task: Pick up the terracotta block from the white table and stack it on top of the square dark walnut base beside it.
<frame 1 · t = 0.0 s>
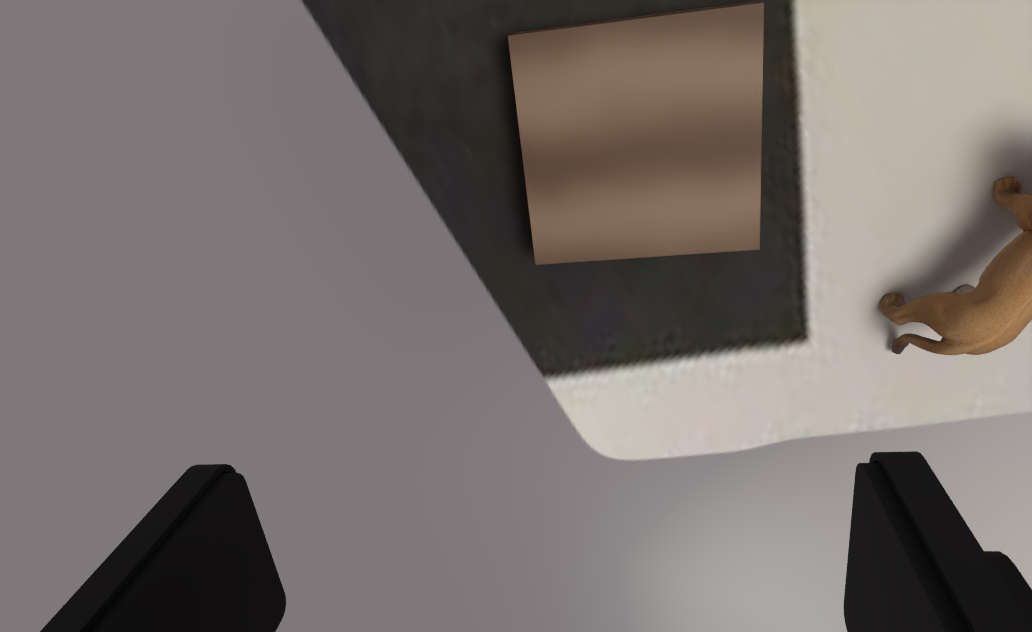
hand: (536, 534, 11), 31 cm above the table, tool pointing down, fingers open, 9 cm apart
walnut base: (637, 135, 38), on the table
lion figurine: (977, 231, 38), on the table
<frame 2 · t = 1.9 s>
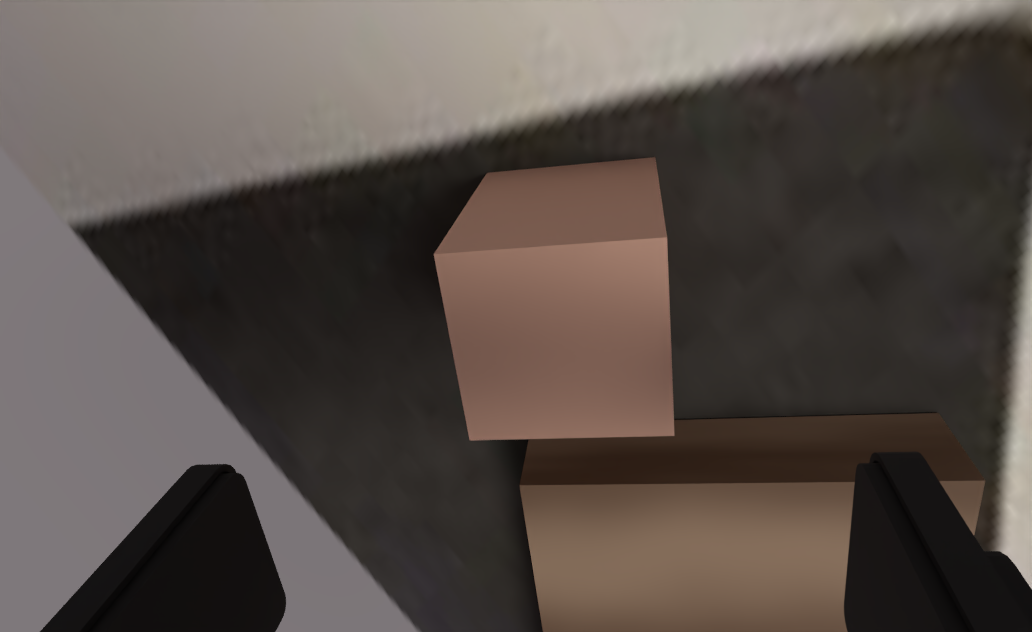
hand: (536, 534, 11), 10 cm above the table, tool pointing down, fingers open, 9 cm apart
terracotta block: (577, 243, 20), on the table
walnut base: (724, 563, 24), on the table
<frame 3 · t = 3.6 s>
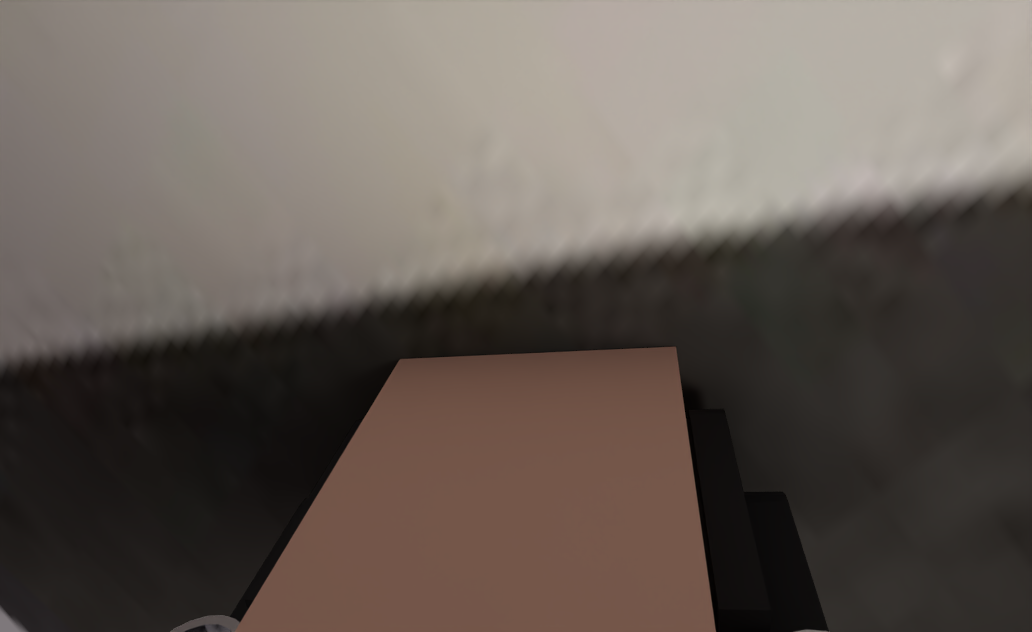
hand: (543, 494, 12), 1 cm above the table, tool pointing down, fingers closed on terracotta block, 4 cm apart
terracotta block: (547, 467, 12), on the table, touching gripper
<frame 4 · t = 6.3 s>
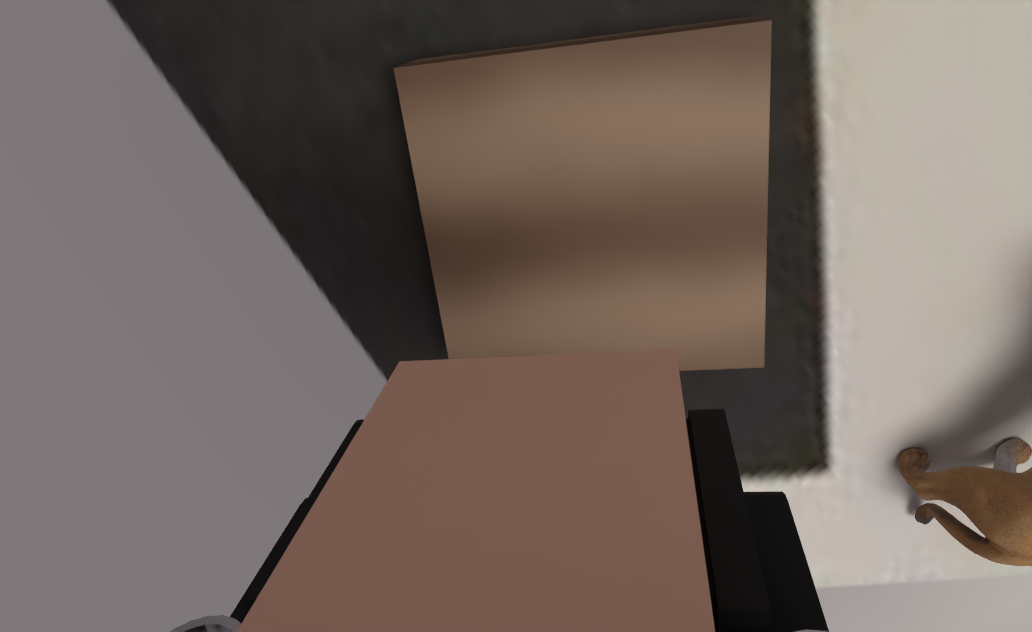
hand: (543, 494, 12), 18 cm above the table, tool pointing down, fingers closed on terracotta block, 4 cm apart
terracotta block: (547, 469, 12), point 17 cm above the table, touching gripper
walnut base: (592, 202, 27), on the table
lion figurine: (1027, 371, 28), on the table
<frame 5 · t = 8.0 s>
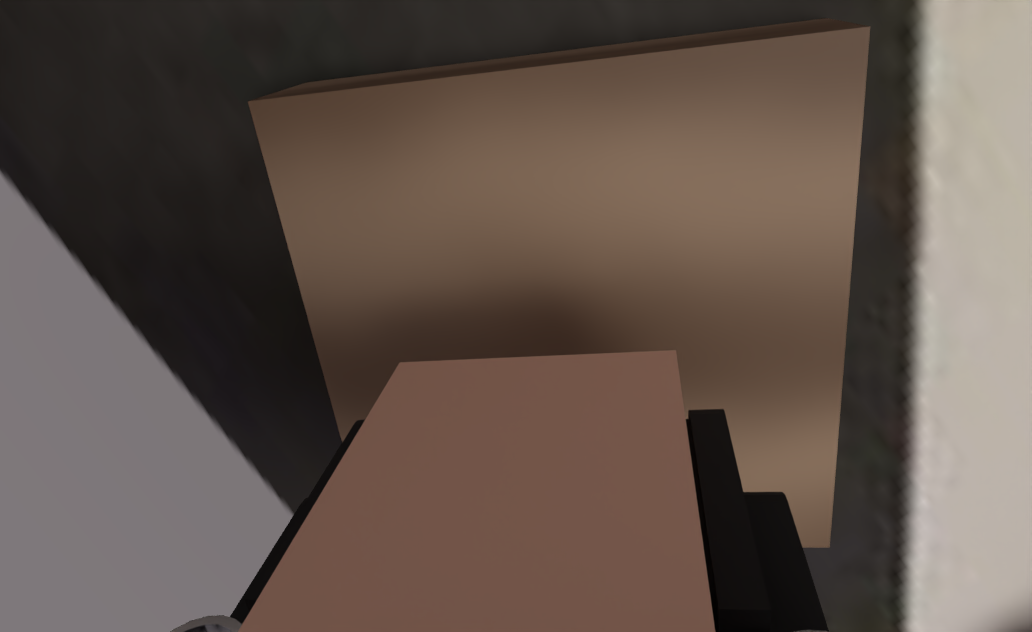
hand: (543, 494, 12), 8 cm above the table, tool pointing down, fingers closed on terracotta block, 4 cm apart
terracotta block: (547, 470, 12), point 7 cm above the table, touching gripper
walnut base: (573, 291, 19), on the table
when the fingers open (5 cm above the table, at t = 9.4 s): terracotta block drops 1 cm, resting on walnut base.
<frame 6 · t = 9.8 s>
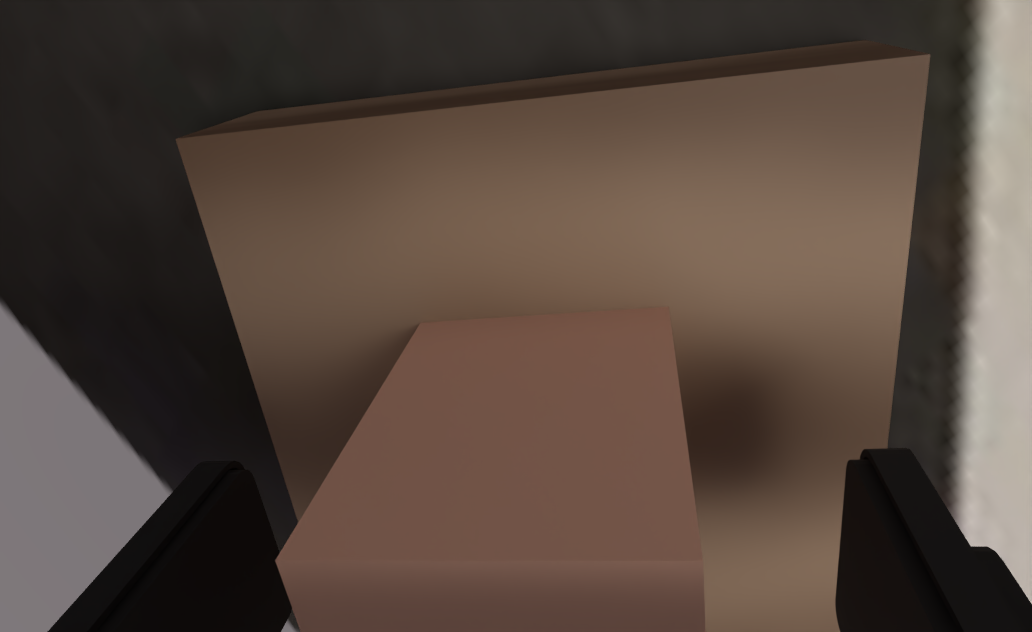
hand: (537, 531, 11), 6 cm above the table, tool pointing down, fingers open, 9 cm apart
terracotta block: (554, 420, 13), point 3 cm above the table, touching walnut base
walnut base: (566, 349, 16), on the table
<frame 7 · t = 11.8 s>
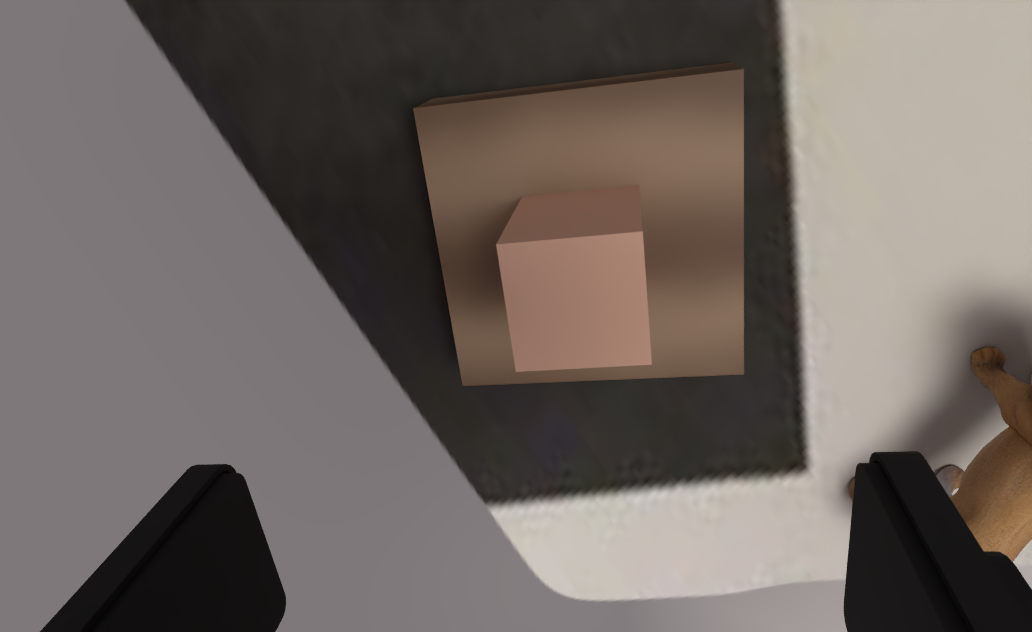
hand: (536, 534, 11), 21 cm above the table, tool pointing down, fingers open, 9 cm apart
terracotta block: (585, 246, 28), point 3 cm above the table, touching walnut base
walnut base: (589, 225, 30), on the table
lion figurine: (957, 405, 32), on the table
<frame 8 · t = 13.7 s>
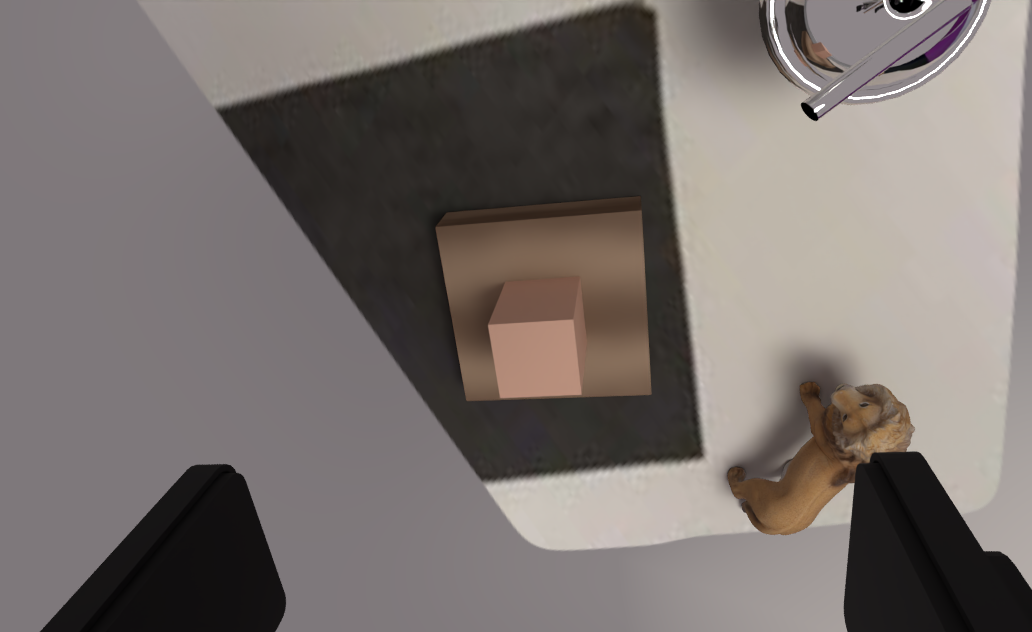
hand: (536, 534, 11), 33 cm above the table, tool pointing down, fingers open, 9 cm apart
terracotta block: (546, 313, 43), point 3 cm above the table, touching walnut base
walnut base: (551, 294, 45), on the table
lion figurine: (794, 419, 47), on the table
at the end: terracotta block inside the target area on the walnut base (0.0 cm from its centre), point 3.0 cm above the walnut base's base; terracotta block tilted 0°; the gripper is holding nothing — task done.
